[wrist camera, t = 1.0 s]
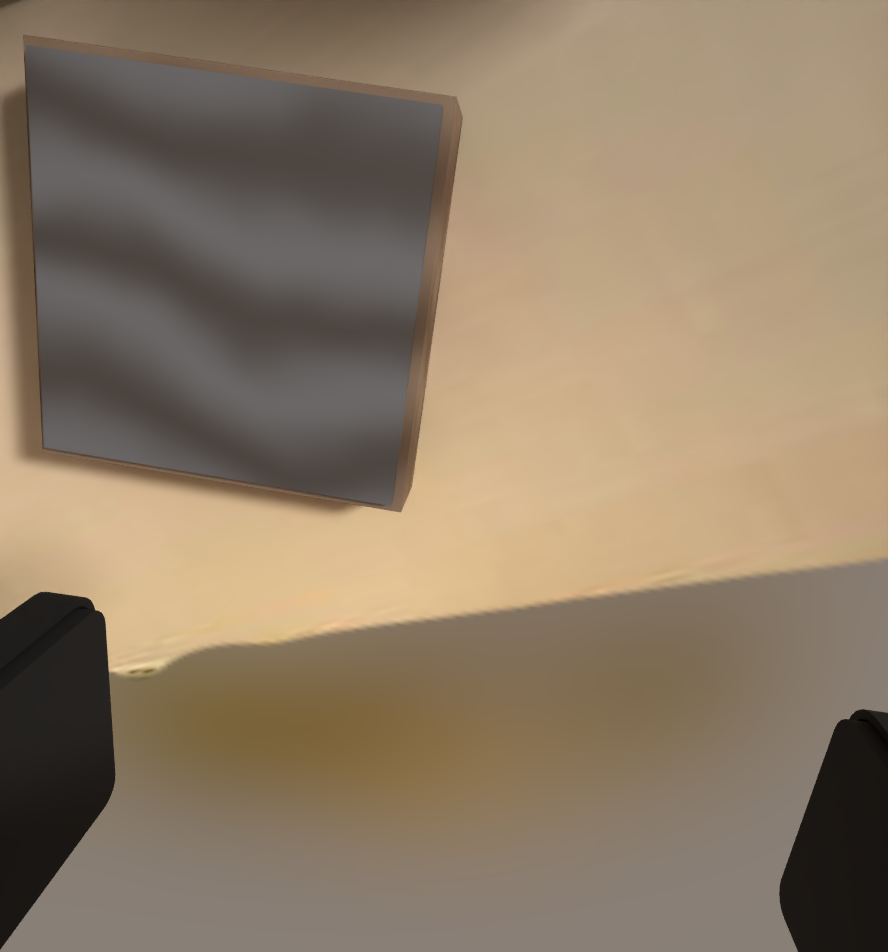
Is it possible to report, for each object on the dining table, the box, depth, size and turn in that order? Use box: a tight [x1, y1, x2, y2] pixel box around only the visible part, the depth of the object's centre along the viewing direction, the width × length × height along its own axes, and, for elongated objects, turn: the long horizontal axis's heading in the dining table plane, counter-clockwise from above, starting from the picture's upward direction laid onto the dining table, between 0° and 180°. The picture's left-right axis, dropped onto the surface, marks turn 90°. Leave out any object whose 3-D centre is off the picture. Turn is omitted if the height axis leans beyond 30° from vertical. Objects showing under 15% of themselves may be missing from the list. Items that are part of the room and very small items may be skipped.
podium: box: [23, 35, 463, 512], centre depth 35 cm, size 20×20×5 cm
